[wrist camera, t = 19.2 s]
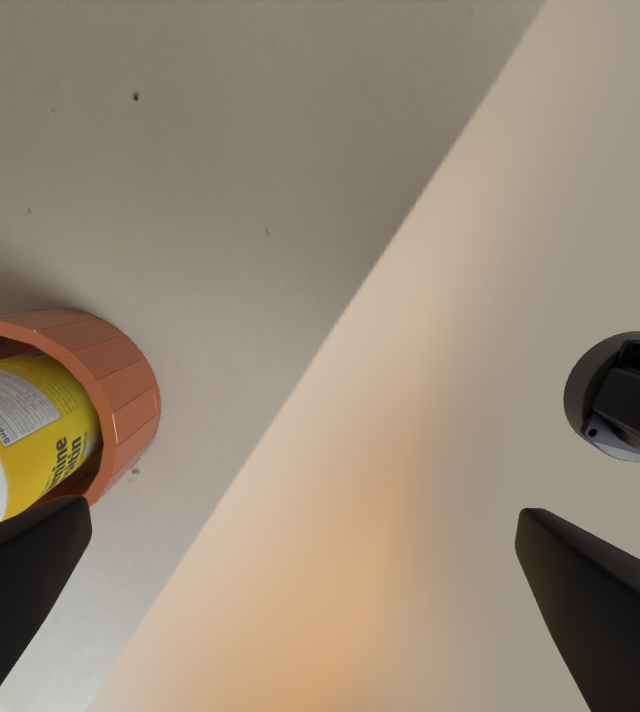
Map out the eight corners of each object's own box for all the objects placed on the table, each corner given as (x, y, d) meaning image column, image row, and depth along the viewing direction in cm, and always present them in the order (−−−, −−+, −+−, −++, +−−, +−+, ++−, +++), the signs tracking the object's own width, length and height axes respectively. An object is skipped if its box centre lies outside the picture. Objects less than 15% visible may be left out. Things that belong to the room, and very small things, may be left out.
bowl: (176, 339, 20) (133, 358, 16) (144, 496, 22) (99, 551, 18) (-9, 285, 20) (-105, 290, 15) (-23, 451, 22) (-109, 496, 18)
